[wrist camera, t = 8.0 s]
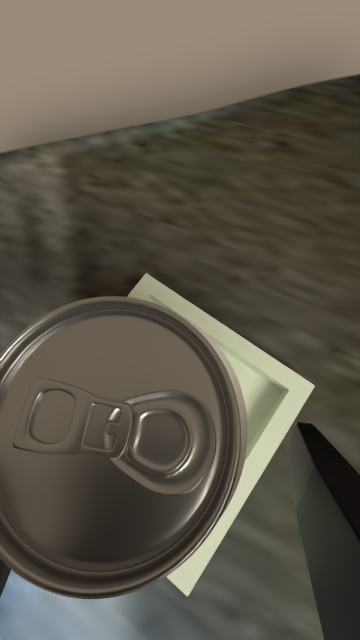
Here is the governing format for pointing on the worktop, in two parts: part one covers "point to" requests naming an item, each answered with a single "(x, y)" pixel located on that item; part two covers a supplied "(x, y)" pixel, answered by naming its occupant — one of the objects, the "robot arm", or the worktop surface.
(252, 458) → the tray
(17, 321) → the worktop surface
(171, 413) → the can
